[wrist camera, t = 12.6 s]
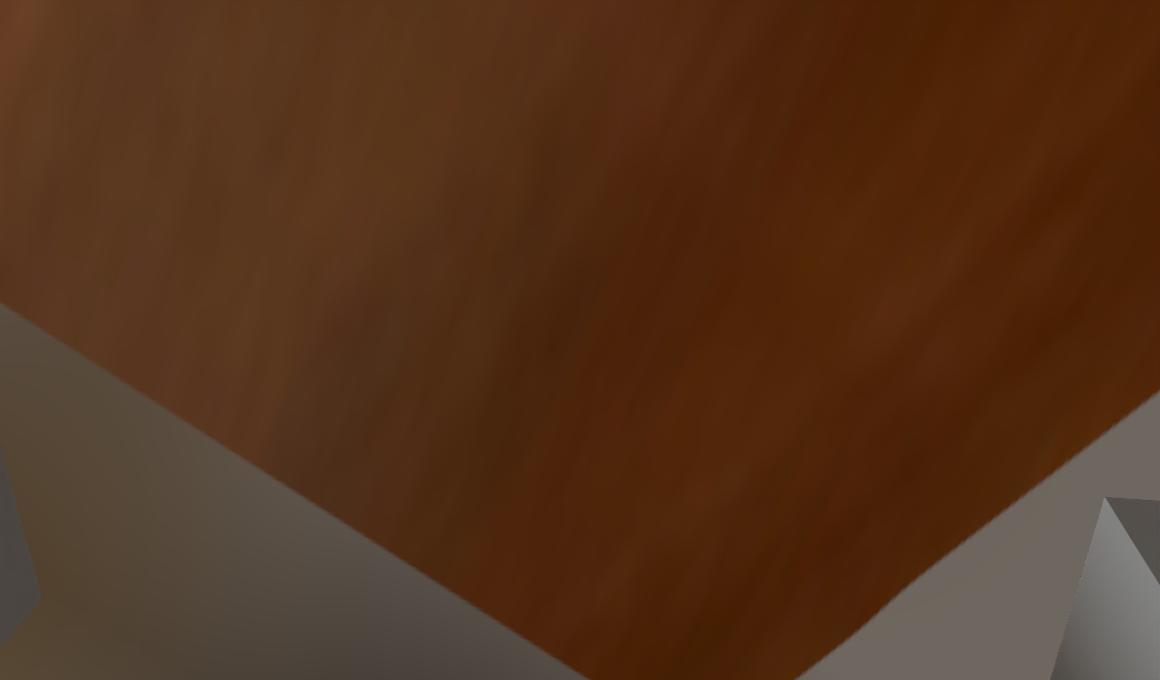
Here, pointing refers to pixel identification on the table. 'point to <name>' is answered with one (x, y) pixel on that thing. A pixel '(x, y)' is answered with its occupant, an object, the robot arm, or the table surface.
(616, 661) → the table surface
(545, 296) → the table surface
